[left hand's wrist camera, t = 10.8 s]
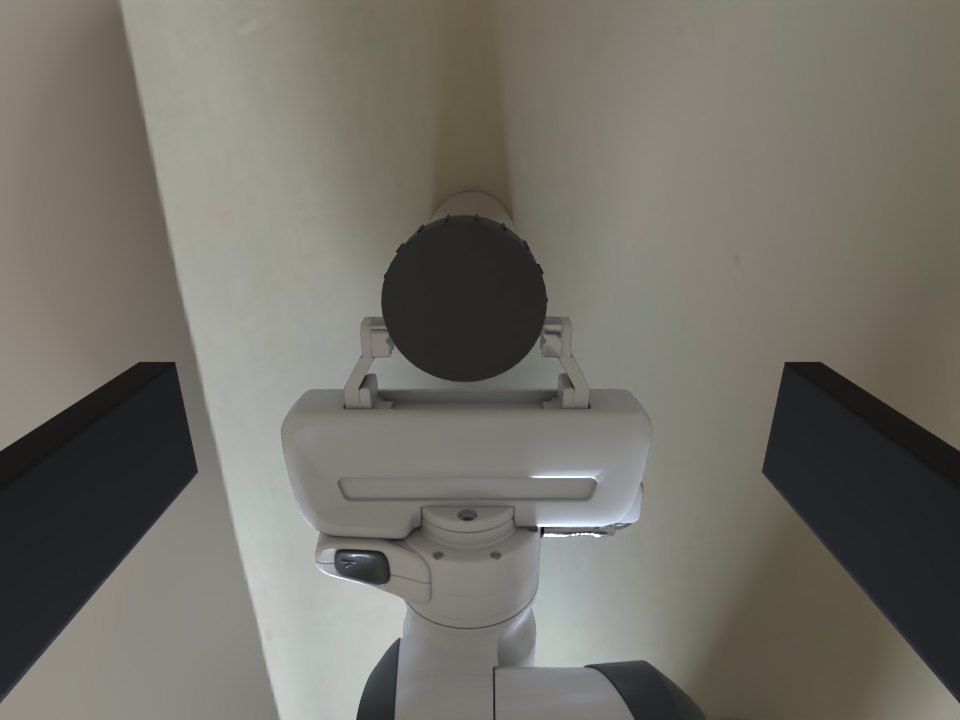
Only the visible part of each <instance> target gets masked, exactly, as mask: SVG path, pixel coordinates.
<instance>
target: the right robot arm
mask: <svg viewBox="0 0 960 720" xmlns="http://www.w3.org/2000/svg"><path fill="white" fill-rule="evenodd" d="M360 334H361V346H362V355H361V357H360V359H359V361H358V362H357V364H356V366H355V368H354V370H353V372H352V374H351V376H350V378H349V379H348V381H347V383H346V385H345V387H344V389H312V390H308V391H306V392H305V393H304V394H303V395H302V396H301V397H300V398H299V399H298V400H297V401H296V403H295V404H294V405H293V406H292V408H291V409H290V410H289V412H288V414H287V415H286V417H285V419H284V421H283V424H282V428H281V438H282V446H283V453H284V458H285V463H286V467H287V472H288V476H289V479H290V483H291V487H292V490H293V494H294V497H295V500H296V503H297V506H298V508H299V510H300V512H301V514H302V516H303V517H304V519H305V520H306V521H307V522H308V523H309V524H310V525H311V526H312V527H313V528H315V529H316V530H318V531H320V534H319V537H318V542H317V546H316V553H315V557H316V563H317V566H318V568H319V569H320V570H321V571H322V572H323V573H325V574H328V575H330V576H334V577H338V578H342V579H346V580H350V581H353V582H357V583H361V584H364V585H368V586H371V587H374V588H378V589H381V590H384V591H386V592H389V593H392V594H394V595H397V596H399V597H401V598H404V601H405V603H406V606H407V613H406V616H405V619H404V625H403V638H398V639H397V640H396V641H395V642H394V643H393V644H392V645H391V646H390V648H389V649H388V650H387V651H386V653H385V654H384V655H383V657H382V658H381V660H380V661H379V662H378V664H377V665H376V667H375V668H374V670H373V671H372V673H371V674H370V676H369V678H368V680H367V683H366V685H365V688H364V691H363V694H362V697H361V700H360V704H359V708H358V713H357V718H356V720H706V718H705V716H704V714H703V712H702V711H701V710H700V708H699V707H698V706H697V705H696V704H695V703H694V702H693V701H692V700H691V698H690V697H689V696H688V695H687V694H686V693H685V692H684V691H683V690H681V689H680V688H679V687H678V686H677V685H676V684H675V683H674V682H672V681H671V680H670V679H669V678H668V677H666V676H665V675H664V674H663V673H661V672H660V671H659V670H657V669H656V668H655V667H653V666H652V665H651V664H649V663H648V662H646V661H643V660H638V661H627V662H615V663H604V664H592V665H586V666H584V667H583V668H573V667H534V659H535V647H536V622H535V617H534V613H533V610H532V608H531V607H532V605H533V603H534V600H535V597H536V594H537V589H538V584H539V564H540V538H542V537H572V536H576V535H577V536H580V535H592V536H594V537H607V536H612V535H614V534H615V530H619V529H623V528H625V527H627V526H629V525H630V524H632V523H634V522H636V521H637V520H638V518H639V516H640V513H641V506H642V498H643V485H642V482H641V480H642V477H643V474H644V470H645V467H646V463H647V459H648V454H649V450H650V444H651V439H652V430H653V429H652V423H651V420H650V418H649V416H648V414H647V412H646V410H645V409H644V407H643V406H642V404H641V403H640V402H639V401H638V400H637V398H636V397H635V396H634V395H633V394H632V393H631V392H630V391H628V390H625V389H589V386H588V384H587V381H586V379H585V377H584V374H583V372H582V371H581V369H580V367H579V365H578V363H577V361H576V360H575V358H574V356H573V354H572V352H571V339H572V325H571V321H570V319H569V317H545V321H544V325H543V328H542V332H541V334H540V349H541V350H542V356H543V357H558V359H559V361H560V362H561V364H562V366H563V368H564V370H565V371H566V373H567V374H562V373H561V374H560V375H559V376H558V389H378V386H377V375H375V374H367V375H366V373H367V371H368V369H369V368H370V366H371V364H372V362H373V360H374V358H375V357H390V356H391V353H392V350H393V349H394V346H395V344H394V343H393V341H392V339H391V337H390V335H389V333H388V331H387V328H386V326H385V322H384V318H383V317H365V318H364V320H363V321H362V323H361V330H360Z"/></svg>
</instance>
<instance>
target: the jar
mask: <svg viewBox="0 0 960 720" xmlns="http://www.w3.org/2000/svg"><path fill="white" fill-rule="evenodd" d="M448 214H450V216H455V215H473V216H475V214H478V216H480V217H484V218H488V219H491V220H493V221H496V222H498V223H500V224H502V223H505V225H506V227H507V228H509V229H510V230H511V231H513V232H514V233H515V234H516V235H517V232H516V230H515V227H514V224H513V222H512V219H511V217H510V215H509V213H508V211H507V209H506V208H505V207H504V206H503V204H502V203H501V202H499V201H498V200H497V199H496V198H494V197H492V196H491V195H489V194H486V193H483V192H478V191H466V192H461V193H458V194H455V195H453V196H451V197H450V198H448V199H447V200H446V201H444V202H443V203H442V204H441V206H440V207H439V208H438V209H437V211H436V212H435V214H434V215H433V217H432V218H431V220H430V221H429V223H428V224H430V223H432V222H434V221H436V220H439V219H442V218H445V217H446V216H447V215H448ZM428 224H427V225H428ZM517 236H518V235H517Z"/></svg>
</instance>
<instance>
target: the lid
mask: <svg viewBox="0 0 960 720" xmlns="http://www.w3.org/2000/svg"><path fill="white" fill-rule="evenodd" d="M396 252H397V255H396V256H395V258H394V259H393V261H392V262H391V264H390V266H389V269H388V271H387V272H386V274H385V275H384V278H385V279H384V283H383V288H382V299H381V305H382V314H383V318H384V322H385V326H386V328H387V331H388V333H389V335H390V337H391V339H392V341H393V343H394V344H395V346H396V347H397V348H398V350H399V351H400V352H401V353H402V354H403V355H404V356H405V358H406V359H407V360H409V361H410V362H411V363H412V364H414V365H415V366H416V367H418V368H419V369H421V370H423V371H424V372H426V373H428V374H431V375H433V376H436V377H439V378H442V379H446V380H450V381H459V382H472V381H479V380H485V379H488V378H492V377H495V376H497V375H499V374H501V373H504V372H505V371H507V370H509V369H510V368H512V367H513V366H515V365H516V364H517V363H519V362H520V361H521V360H522V359H523V358H524V357H525V356H526V355H527V354H528V353H529V351H530V350H531V349H532V347H533V346H534V344H535V343H536V341H537V339H538V338H539V335H540V333H541V330H542V328H543V325H544V321H545V316H546V309H547V302H548V299H547V296H546V289H545V284H544V281H543V277H542V274H543V271H542V269H541V267H540V264H537V263H536V261H535V259H534V256H533V255H532V253H531V251H530V250H529V246H528V244H527V242H526V241H525V240H524V241H522V239H521V238H519V237H518V236H517V235H516V234H515V233H514V232H513V231H511V230H510V229H509V228H507V227H506V225H505V223H502V224H500V223H498V222H496V221H493V220H491V219H488V218H484V217H480V216H478V214H475V216H473V215H455V216H450V214H448V215H447V216H446V217H445V218H442V219H439V220H436V221H434V222H432V223H430V224H428V225H426V226H424V225H422V226H421V227H420V228H419V229H418V231H417V232H416V233H415V234H414V235H413V236H411V237H410V238H409V240H408V241H407V242H406V243H405V244H403V243H402V244H401V246H400V247H399V248H398V249H397V251H396Z"/></svg>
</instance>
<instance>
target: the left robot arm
mask: <svg viewBox="0 0 960 720" xmlns="http://www.w3.org/2000/svg"><path fill="white" fill-rule="evenodd" d="M197 473H198V470H197V465H196V460H195V455H194V450H193V446H192V441H191V436H190V431H189V427H188V422H187V417H186V412H185V408H184V403H183V398H182V393H181V388H180V383H179V379H178V374H177V369H176V364H175V362H139V363H137V364H136V365H134V366H132V367H131V368H129V369H128V370H126V371H125V372H123V373H122V374H120V375H118V376H117V377H115V378H114V379H112V380H111V381H109V382H108V383H106V384H104V385H103V386H101V387H100V388H98V389H97V390H95V391H94V392H92V393H90V394H89V395H87V396H86V397H84V398H83V399H81V400H80V401H78V402H76V403H75V404H73V405H72V406H70V407H69V408H67V409H66V410H64V411H62V412H61V413H59V414H58V415H56V416H55V417H53V418H51V419H50V420H48V421H47V422H45V423H44V424H42V425H41V426H39V427H38V428H36V429H34V430H33V431H31V432H30V433H28V434H27V435H25V436H23V437H22V438H20V439H19V440H17V441H16V442H14V443H13V444H11V445H9V446H8V447H6V448H5V449H3V450H2V451H0V703H1V702H2V701H3V700H4V698H5V697H6V696H7V695H8V694H9V693H10V691H11V690H12V689H13V688H14V687H15V685H16V684H17V683H18V682H19V681H20V680H21V679H22V677H23V676H24V675H25V674H26V673H27V672H28V670H29V669H30V668H31V667H32V666H33V664H34V663H35V662H36V661H37V660H38V659H39V658H40V656H41V655H42V654H43V653H44V652H45V650H46V649H47V648H48V647H49V646H50V645H51V643H52V642H53V641H54V640H55V639H56V638H57V636H58V635H59V634H60V633H61V632H62V631H63V629H64V628H65V627H66V626H67V625H68V624H69V622H70V621H71V620H72V619H73V618H74V617H75V615H76V614H77V613H78V612H79V611H80V610H81V608H82V607H83V606H84V605H85V604H86V603H87V601H88V600H89V599H90V598H91V597H92V596H93V594H94V593H95V592H96V591H97V590H98V589H99V587H100V586H101V585H102V584H103V583H104V582H105V580H106V579H107V578H108V577H109V576H110V575H111V573H112V572H113V571H114V570H115V569H116V568H117V566H118V565H119V564H120V563H121V562H122V561H123V559H124V558H125V557H126V556H127V555H128V554H129V552H130V551H131V550H132V549H133V548H134V547H135V545H136V544H137V543H138V542H139V541H140V540H141V538H142V537H143V536H144V535H145V534H146V533H147V531H148V530H149V529H150V528H151V527H152V526H153V524H154V523H155V522H156V521H157V520H158V519H159V517H160V516H161V515H162V514H163V513H164V512H165V510H166V509H167V508H168V507H169V506H170V505H171V503H172V502H173V501H174V500H175V499H176V498H177V496H178V495H179V494H180V493H181V492H182V491H183V489H184V488H185V487H186V486H187V485H188V484H189V482H190V481H191V480H192V479H193V478H194V477H195V475H196V474H197ZM762 473H763V474H764V475H765V477H766V478H767V479H768V480H769V481H770V482H771V484H772V485H773V486H774V487H775V488H776V489H777V491H778V492H779V493H780V494H781V495H782V496H783V498H784V499H785V500H786V501H787V502H788V503H789V505H790V506H791V507H792V508H793V509H794V510H795V512H796V513H797V514H798V515H799V516H800V517H801V519H802V520H803V521H804V522H805V523H806V524H807V526H808V527H809V528H810V529H811V530H812V531H813V533H814V534H815V535H816V536H817V537H818V538H819V540H820V541H821V542H822V543H823V544H824V545H825V547H826V548H827V549H828V550H829V551H830V552H831V554H832V555H833V556H834V557H835V558H836V559H837V561H838V562H839V563H840V564H841V565H842V566H843V568H844V569H845V570H846V571H847V572H848V573H849V575H850V576H851V577H852V578H853V579H854V580H855V582H856V583H857V584H858V585H859V586H860V587H861V589H862V590H863V591H864V592H865V593H866V594H867V596H868V597H869V598H870V599H871V600H872V601H873V603H874V604H875V605H876V606H877V607H878V608H879V610H880V611H881V612H882V613H883V614H884V615H885V617H886V618H887V619H888V620H889V621H890V622H891V624H892V625H893V626H894V627H895V628H896V629H897V631H898V632H899V633H900V634H901V635H902V636H903V638H904V639H905V640H906V641H907V642H908V644H909V645H910V646H911V647H912V648H913V649H914V651H915V652H916V653H917V654H918V655H919V656H920V658H921V659H922V660H923V661H924V662H925V663H926V665H927V666H928V667H929V668H930V669H931V670H932V672H933V673H934V674H935V675H936V676H937V677H938V679H939V680H940V681H941V682H942V683H943V684H944V686H945V687H946V688H947V689H948V690H949V691H950V693H951V694H952V695H953V696H954V697H955V698H956V700H957V701H958V702H959V703H960V451H958V450H957V449H955V448H954V447H952V446H951V445H949V444H947V443H946V442H944V441H943V440H941V439H940V438H938V437H937V436H935V435H933V434H932V433H930V432H929V431H927V430H926V429H924V428H923V427H921V426H919V425H918V424H916V423H915V422H913V421H912V420H910V419H909V418H907V417H905V416H904V415H902V414H901V413H899V412H898V411H896V410H895V409H893V408H891V407H890V406H888V405H887V404H885V403H884V402H882V401H880V400H879V399H877V398H876V397H874V396H873V395H871V394H870V393H868V392H866V391H865V390H863V389H862V388H860V387H859V386H857V385H856V384H854V383H852V382H851V381H849V380H848V379H846V378H845V377H843V376H842V375H840V374H838V373H837V372H835V371H834V370H832V369H831V368H829V367H828V366H826V365H824V364H823V363H821V362H785V364H784V369H783V374H782V379H781V383H780V388H779V393H778V398H777V403H776V407H775V412H774V417H773V422H772V426H771V431H770V436H769V441H768V446H767V450H766V455H765V460H764V465H763V469H762Z"/></svg>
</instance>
